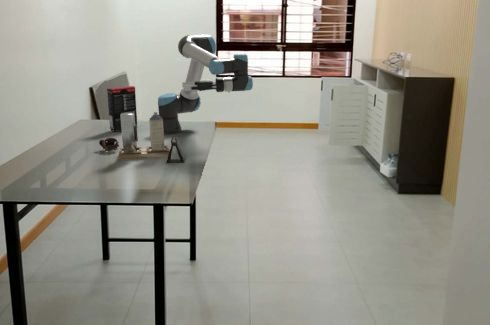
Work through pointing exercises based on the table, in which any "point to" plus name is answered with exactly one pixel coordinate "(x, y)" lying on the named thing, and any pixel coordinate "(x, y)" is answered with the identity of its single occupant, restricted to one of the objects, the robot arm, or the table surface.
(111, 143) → the brown curved piece
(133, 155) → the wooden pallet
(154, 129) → the aerosol can
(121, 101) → the graphics card box
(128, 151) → the metal canister
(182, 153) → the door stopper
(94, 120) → the table surface
